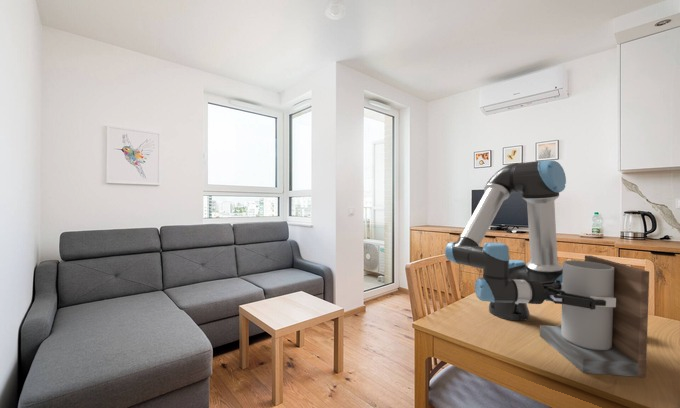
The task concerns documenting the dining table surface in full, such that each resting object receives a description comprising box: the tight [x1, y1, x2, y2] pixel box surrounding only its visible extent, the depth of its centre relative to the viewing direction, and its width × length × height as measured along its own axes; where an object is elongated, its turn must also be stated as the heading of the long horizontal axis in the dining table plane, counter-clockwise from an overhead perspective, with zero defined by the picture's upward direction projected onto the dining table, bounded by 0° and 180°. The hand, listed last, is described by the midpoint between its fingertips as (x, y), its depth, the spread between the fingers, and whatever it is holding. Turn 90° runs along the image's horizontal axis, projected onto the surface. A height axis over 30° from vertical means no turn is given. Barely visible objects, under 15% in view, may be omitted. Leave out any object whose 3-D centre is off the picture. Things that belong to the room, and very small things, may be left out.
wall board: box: [539, 254, 650, 378], centre depth 93 cm, size 16×22×30 cm
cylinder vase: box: [561, 259, 614, 351], centre depth 93 cm, size 12×12×25 cm
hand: (597, 294), depth 92 cm, fingers open, 13 cm apart
